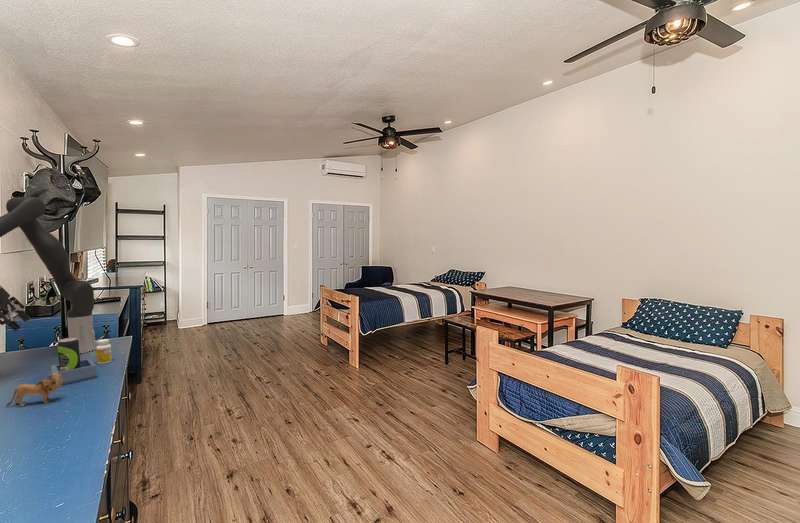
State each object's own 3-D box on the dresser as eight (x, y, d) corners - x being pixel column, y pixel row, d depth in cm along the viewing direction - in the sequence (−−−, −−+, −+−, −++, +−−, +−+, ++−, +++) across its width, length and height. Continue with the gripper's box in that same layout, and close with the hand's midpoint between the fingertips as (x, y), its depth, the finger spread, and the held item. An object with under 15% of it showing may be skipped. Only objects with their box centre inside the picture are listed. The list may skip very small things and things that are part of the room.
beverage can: (83, 376, 151) (80, 339, 150) (62, 381, 146) (59, 342, 145) (79, 373, 155) (76, 336, 154) (58, 377, 150) (55, 339, 149)
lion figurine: (65, 395, 137) (63, 370, 136) (61, 401, 132) (59, 375, 132) (8, 404, 130) (6, 378, 129) (2, 411, 125) (0, 383, 125)
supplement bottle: (93, 363, 169) (92, 341, 169) (107, 359, 174) (105, 338, 174) (101, 364, 167) (100, 342, 167) (115, 360, 172) (113, 339, 172)
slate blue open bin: (90, 370, 161) (90, 358, 161) (96, 377, 153) (95, 365, 153) (52, 378, 152) (51, 365, 152) (56, 386, 144) (55, 373, 144)
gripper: (-10, 294, 141) (25, 327, 149) (9, 280, 154) (40, 312, 161) (-32, 304, 140) (4, 338, 147) (-12, 290, 152) (20, 321, 159)
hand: (23, 324), depth 154 cm, fingers open, 8 cm apart
